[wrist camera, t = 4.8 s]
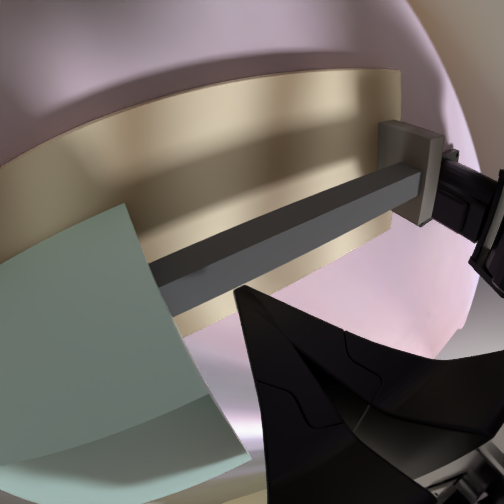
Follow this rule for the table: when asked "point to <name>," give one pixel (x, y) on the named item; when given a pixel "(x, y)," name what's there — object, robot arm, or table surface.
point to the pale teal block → (100, 377)
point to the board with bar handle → (222, 167)
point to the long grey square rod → (278, 237)
